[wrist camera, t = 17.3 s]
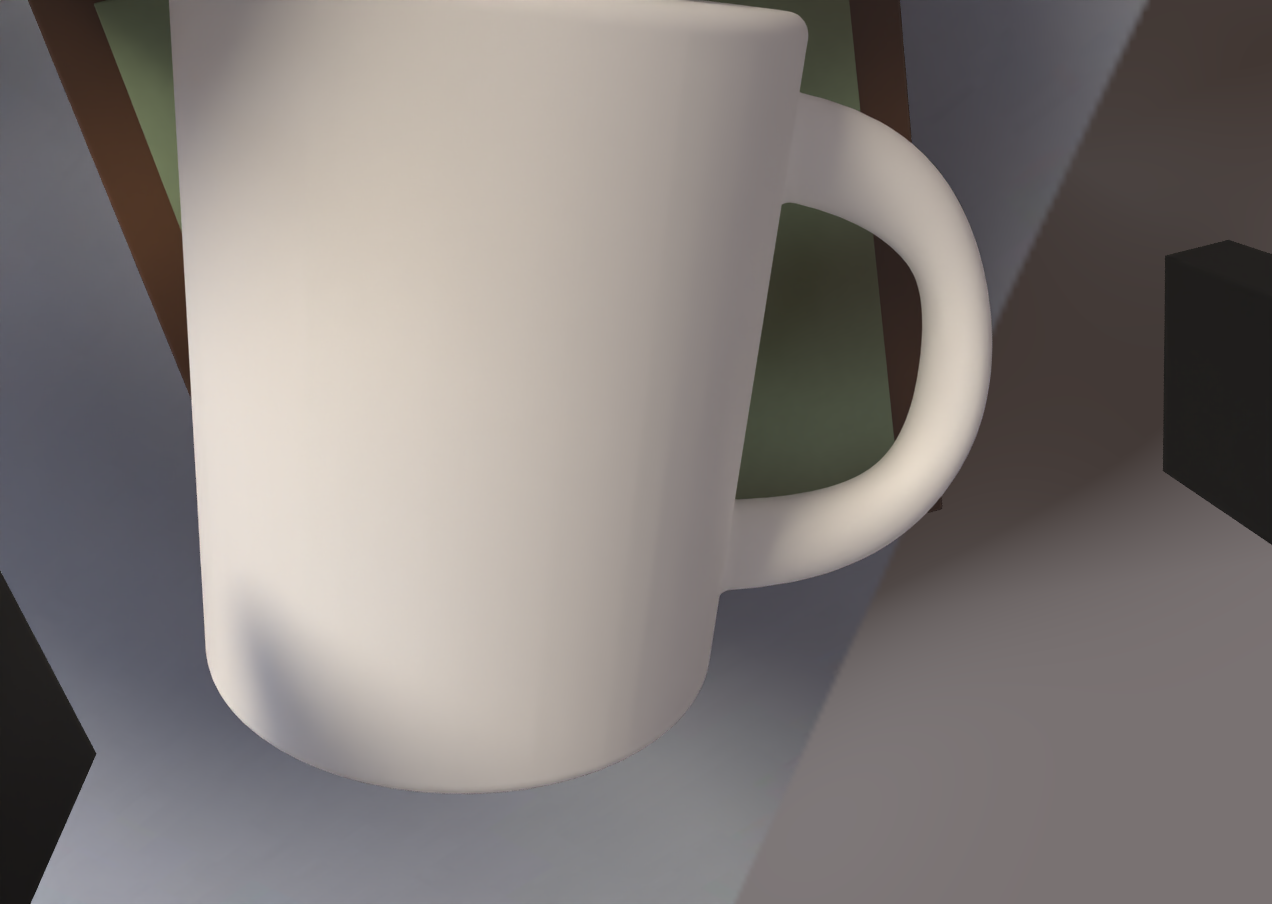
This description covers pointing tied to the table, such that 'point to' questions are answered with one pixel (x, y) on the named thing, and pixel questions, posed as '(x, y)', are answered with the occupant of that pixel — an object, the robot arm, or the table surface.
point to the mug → (516, 363)
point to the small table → (801, 269)
